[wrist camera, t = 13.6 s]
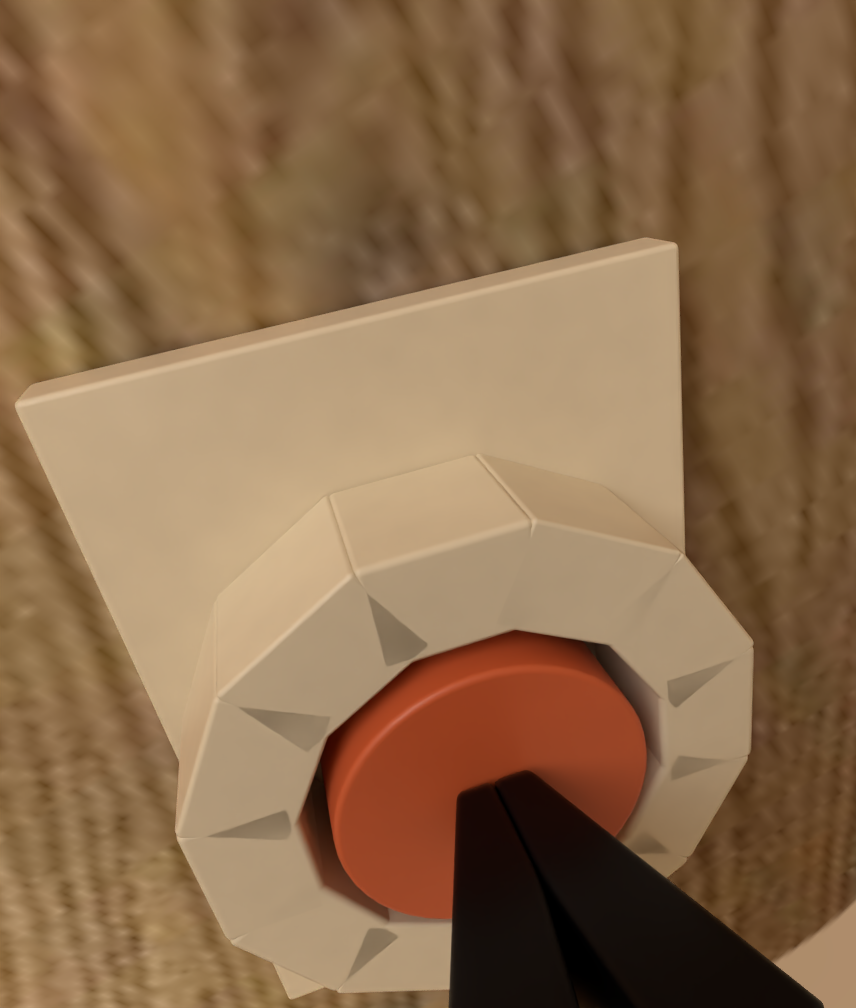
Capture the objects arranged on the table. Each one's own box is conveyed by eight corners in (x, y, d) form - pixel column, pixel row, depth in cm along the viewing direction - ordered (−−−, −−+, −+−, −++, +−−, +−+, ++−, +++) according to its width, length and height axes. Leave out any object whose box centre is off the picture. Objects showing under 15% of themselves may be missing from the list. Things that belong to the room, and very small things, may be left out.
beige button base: (671, 819, 13) (762, 950, 11) (285, 960, 12) (300, 1137, 10) (647, 235, 9) (795, 262, 6) (26, 383, 8) (-52, 475, 5)
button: (592, 756, 11) (655, 857, 9) (350, 840, 10) (374, 962, 9) (570, 545, 9) (642, 623, 7) (279, 632, 8) (293, 737, 7)
